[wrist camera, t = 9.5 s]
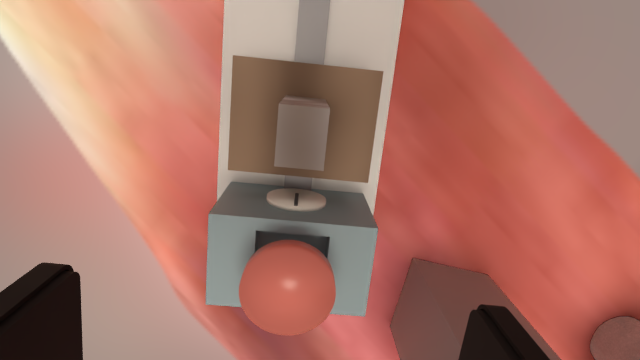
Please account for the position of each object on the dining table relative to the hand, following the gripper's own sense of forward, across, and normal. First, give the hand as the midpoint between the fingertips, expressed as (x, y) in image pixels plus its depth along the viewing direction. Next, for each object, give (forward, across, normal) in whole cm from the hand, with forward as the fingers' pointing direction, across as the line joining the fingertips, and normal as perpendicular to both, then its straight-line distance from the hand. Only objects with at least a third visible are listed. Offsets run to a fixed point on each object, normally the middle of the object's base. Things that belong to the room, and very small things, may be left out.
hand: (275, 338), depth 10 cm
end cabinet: (+21, 0, +5) cm, 22 cm away
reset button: (+14, 0, +5) cm, 15 cm away
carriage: (+20, 0, -3) cm, 20 cm away
